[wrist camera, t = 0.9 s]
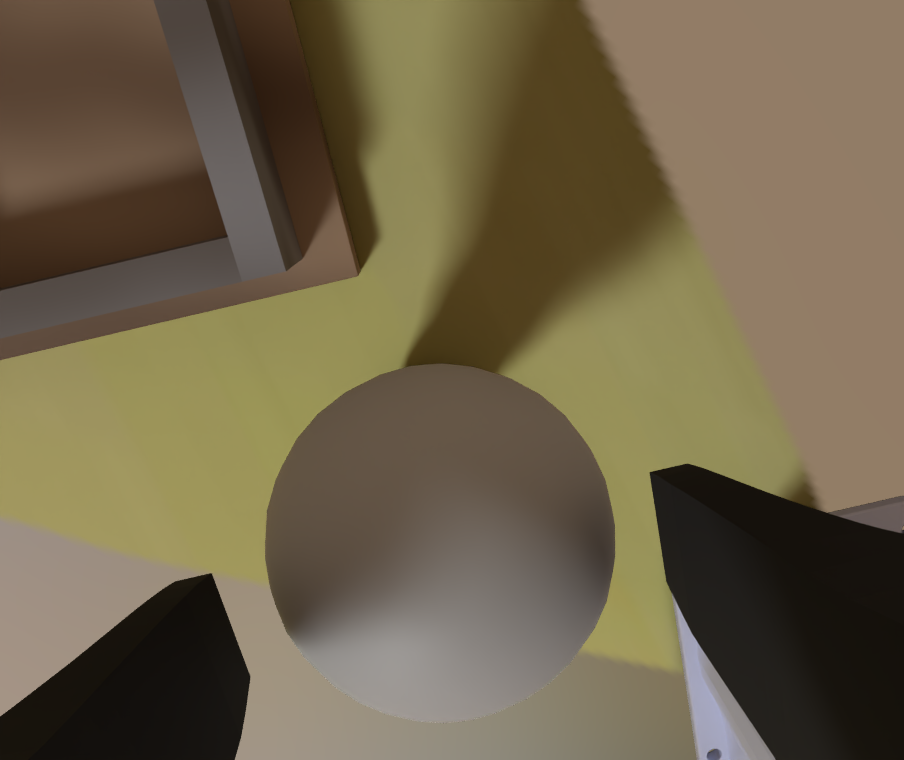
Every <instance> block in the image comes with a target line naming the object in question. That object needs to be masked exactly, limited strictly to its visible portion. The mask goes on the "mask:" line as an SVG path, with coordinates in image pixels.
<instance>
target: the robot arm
mask: <svg viewBox="0 0 904 760" xmlns="http://www.w3.org/2000/svg"><path fill="white" fill-rule="evenodd" d="M650 478H651V484H652V491H653V497H654V504H655V510H656V517H657V523H658V530H659V536H660V543H661V549H662V556H663V562H664V569H665V575H666V581H667V584H668V586H669V588H670V590H671V592H672V598H673V604H674V611H675V617H676V624H677V630H678V637H679V643H680V650H681V656H682V663H683V670H684V676H685V683H686V689H687V696H688V702H689V709H690V715H691V722H692V728H693V735H694V741H695V748H696V754H697V760H904V530H902V527H903V526H904V496H899V497H895V498H891V499H886V500H882V501H877V502H873V503H869V504H865V505H860V506H856V507H851V508H847V509H843V510H838V511H834V512H829V513H826V512H823V511H819V510H816V509H813V508H810V507H807V506H804V505H801V504H798V503H795V502H792V501H790V500H787V499H784V498H781V497H778V496H776V495H773V494H770V493H767V492H765V491H762V490H759V489H757V488H754V487H751V486H749V485H746V484H744V483H741V482H738V481H736V480H733V479H731V478H728V477H725V476H723V475H720V474H717V473H715V472H712V471H709V470H706V469H704V468H701V467H698V466H694V465H690V464H683V465H679V466H675V467H670V468H666V469H662V470H657V471H653V472H650ZM249 684H250V674H249V672H248V669H247V667H246V664H245V661H244V658H243V656H242V653H241V650H240V648H239V645H238V642H237V640H236V637H235V634H234V632H233V629H232V626H231V624H230V621H229V618H228V616H227V613H226V611H225V608H224V605H223V602H222V600H221V597H220V594H219V592H218V589H217V586H216V584H215V581H214V578H213V576H212V573H210V574H206V575H201V576H197V577H193V578H188V579H184V580H180V581H175V582H174V583H172V584H170V585H169V586H167V587H165V588H164V589H162V590H161V591H160V592H159V593H157V594H156V595H154V596H153V597H151V598H150V599H149V600H147V601H146V602H145V603H144V604H142V605H141V606H140V607H138V608H137V609H136V610H135V611H134V612H132V613H131V614H130V615H129V616H128V617H126V618H125V619H124V620H122V621H121V622H120V623H119V624H118V625H116V626H115V627H114V628H113V629H111V630H110V631H109V632H108V633H106V634H105V635H104V636H103V637H101V638H100V639H99V640H98V641H97V642H95V643H94V644H93V645H92V646H91V647H89V648H88V649H87V650H86V651H84V652H83V653H82V654H81V655H79V656H78V657H77V658H76V659H75V660H73V661H72V662H71V663H70V664H68V665H67V666H66V667H64V668H63V669H62V670H60V671H59V672H58V673H57V674H55V675H54V676H53V677H51V678H50V679H49V680H47V681H46V682H45V683H44V684H42V685H41V686H40V687H38V688H37V689H36V690H34V691H33V692H32V693H31V694H30V695H28V696H27V697H25V698H24V699H23V700H21V701H20V702H19V703H18V704H16V705H15V706H14V707H12V708H11V709H10V710H8V711H7V712H6V713H5V714H3V715H2V716H0V760H235V757H236V753H237V750H238V746H239V742H240V739H241V734H242V729H243V723H244V717H245V712H246V705H247V697H248V691H249ZM712 749H715V750H713V751H711V752H709V751H710V750H712Z"/></svg>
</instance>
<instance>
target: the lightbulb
mask: <svg viewBox="0 0 904 760" xmlns="http://www.w3.org/2000/svg"><path fill="white" fill-rule="evenodd" d="M614 559H615V524H614V518H613V512H612V507H611V503H610V498H609V494H608V490H607V485H606V481H605V478H604V476H603V474H602V472H601V470H600V468H599V466H598V464H597V462H596V459H595V457H594V455H593V453H592V451H591V450H590V448H589V447H588V445H587V444H586V442H585V441H584V439H583V438H582V437H581V435H580V434H579V433H578V431H577V430H576V429H575V428H574V426H573V425H572V424H571V423H570V421H569V420H568V419H567V417H566V416H565V415H564V414H563V413H562V412H560V411H559V410H558V409H557V408H556V407H554V406H553V405H552V404H551V403H550V402H548V401H547V400H546V399H545V398H544V397H542V396H541V395H540V394H538V393H536V392H535V391H533V390H531V389H529V388H527V387H525V386H523V385H522V384H520V383H518V382H516V381H514V380H512V379H510V378H507V377H505V376H502V375H499V374H495V373H492V372H489V371H486V370H482V369H479V368H476V367H472V366H462V365H453V364H443V363H440V364H424V365H417V366H409V367H405V368H402V369H398V370H395V371H391V372H388V373H384V374H381V375H379V376H377V377H375V378H373V379H371V380H369V381H367V382H365V383H363V384H361V385H359V386H357V387H355V388H353V389H351V390H349V391H347V392H346V393H344V394H343V395H342V396H340V397H339V398H338V399H336V400H335V401H334V402H333V403H331V404H330V405H329V406H327V407H326V408H325V409H324V410H322V411H321V412H320V413H319V414H317V416H316V417H315V418H314V419H313V420H312V422H311V423H310V424H309V425H308V426H307V427H306V429H305V430H304V431H303V432H302V433H301V435H300V436H299V437H298V438H297V439H296V441H295V443H294V445H293V447H292V449H291V451H290V452H289V454H288V456H287V458H286V460H285V462H284V464H283V465H282V467H281V470H280V472H279V474H278V476H277V478H276V481H275V484H274V488H273V492H272V495H271V499H270V502H269V506H268V509H267V521H266V540H265V560H266V566H267V572H268V578H269V584H270V589H271V592H272V595H273V598H274V601H275V605H276V607H277V610H278V612H279V614H280V617H281V619H282V622H283V624H284V627H285V629H286V632H287V633H288V635H289V636H290V638H291V639H292V641H293V642H294V644H295V645H296V647H297V648H298V649H299V651H300V652H301V654H302V655H303V657H304V658H305V659H306V660H307V661H308V662H309V663H310V664H311V665H312V666H313V667H315V669H317V670H318V671H319V672H320V673H321V674H322V675H323V676H324V677H325V678H326V679H327V680H328V681H329V682H330V683H331V684H332V685H333V686H334V687H335V688H337V689H338V690H340V691H341V692H343V693H345V694H346V695H348V696H349V697H351V698H352V699H354V700H355V701H357V702H358V703H361V704H363V705H366V706H368V707H370V708H373V709H375V710H377V711H380V712H382V713H385V714H388V715H392V716H396V717H401V718H405V719H410V720H414V721H419V722H436V723H448V722H458V721H467V720H473V719H476V718H480V717H484V716H488V715H491V714H495V713H497V712H499V711H502V710H504V709H506V708H508V707H510V706H512V705H514V704H517V703H519V702H521V701H523V700H526V699H527V698H529V697H530V696H532V695H533V694H534V693H535V692H537V691H539V690H540V689H542V688H543V687H545V686H546V685H548V684H549V683H550V682H551V681H552V680H553V679H554V678H556V676H557V675H559V674H560V672H562V671H563V670H564V669H565V668H566V667H567V666H568V665H569V664H570V663H571V661H572V660H573V658H574V657H575V656H576V654H577V653H578V651H579V650H580V648H581V647H582V646H583V644H584V643H585V641H586V640H587V638H588V637H589V636H590V634H591V633H592V631H593V630H594V628H595V626H596V624H597V622H598V620H599V617H600V615H601V613H602V610H603V608H604V606H605V604H606V601H607V597H608V592H609V587H610V582H611V578H612V573H613V566H614Z"/></svg>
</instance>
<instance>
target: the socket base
mask: <svg viewBox="0 0 904 760" xmlns="http://www.w3.org/2000/svg"><path fill="white" fill-rule="evenodd" d="M360 272H361V270H360V266H359V263H358V259H357V255H356V251H355V247H354V244H353V240H352V236H351V232H350V228H349V225H348V221H347V217H346V213H345V209H344V206H343V202H342V198H341V194H340V190H339V187H338V183H337V179H336V175H335V172H334V168H333V164H332V160H331V156H330V153H329V149H328V145H327V141H326V137H325V134H324V130H323V126H322V122H321V118H320V115H319V111H318V107H317V103H316V99H315V96H314V92H313V88H312V84H311V80H310V77H309V73H308V69H307V65H306V61H305V58H304V54H303V50H302V46H301V42H300V39H299V35H298V31H297V27H296V24H295V20H294V16H293V12H292V8H291V5H290V1H289V0H0V360H2V359H7V358H11V357H15V356H20V355H24V354H28V353H32V352H37V351H41V350H45V349H49V348H54V347H58V346H62V345H66V344H71V343H75V342H79V341H83V340H88V339H92V338H96V337H101V336H105V335H109V334H113V333H118V332H122V331H126V330H130V329H135V328H139V327H143V326H147V325H152V324H156V323H160V322H165V321H169V320H173V319H177V318H182V317H186V316H190V315H194V314H199V313H203V312H207V311H211V310H216V309H220V308H224V307H228V306H233V305H237V304H241V303H246V302H250V301H254V300H258V299H263V298H267V297H271V296H275V295H280V294H284V293H288V292H292V291H297V290H301V289H305V288H310V287H314V286H318V285H322V284H327V283H331V282H335V281H339V280H344V279H348V278H352V277H356V276H358V275H359V273H360Z"/></svg>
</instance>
